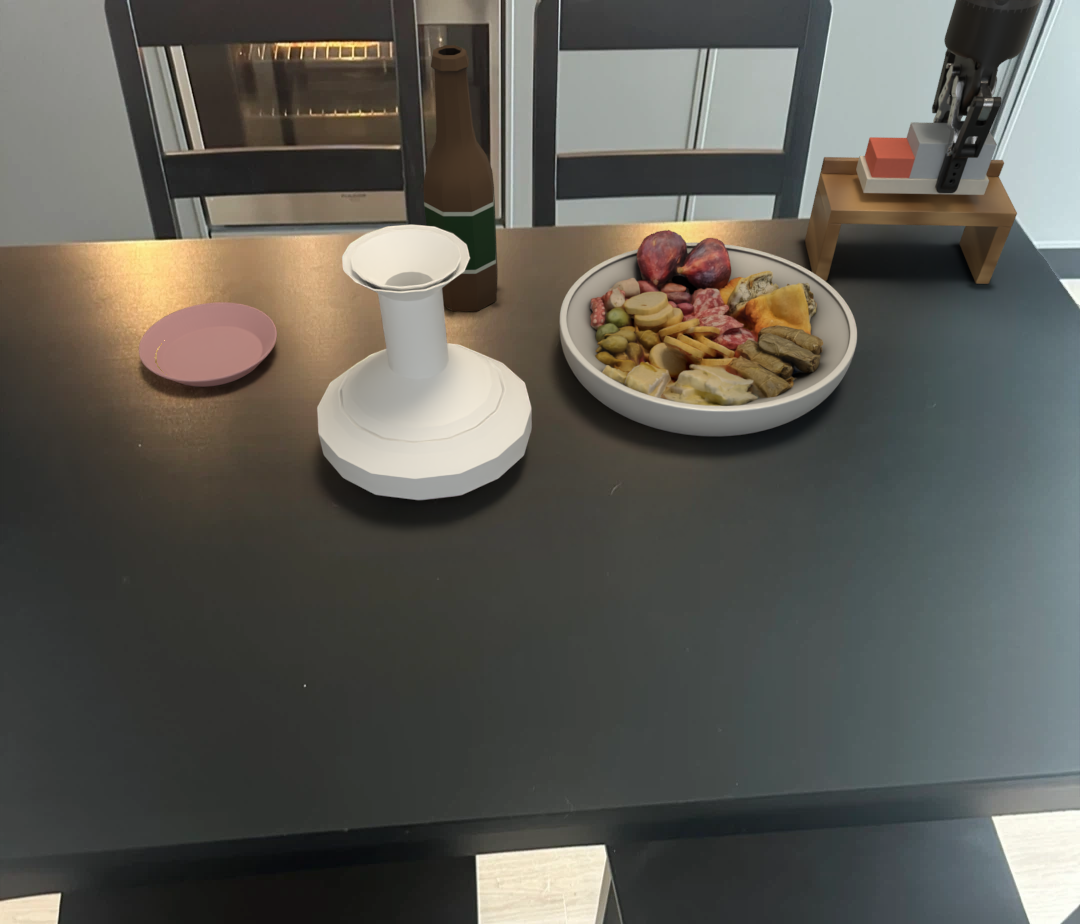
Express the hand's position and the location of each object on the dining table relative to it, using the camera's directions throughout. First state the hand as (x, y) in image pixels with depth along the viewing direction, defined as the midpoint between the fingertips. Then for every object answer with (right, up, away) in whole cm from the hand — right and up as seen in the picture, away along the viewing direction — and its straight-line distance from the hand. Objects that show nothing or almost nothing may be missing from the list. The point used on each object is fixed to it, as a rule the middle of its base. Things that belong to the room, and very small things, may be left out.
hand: (939, 177), depth 102 cm
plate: (-79, -21, -2) cm, 82 cm away
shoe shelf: (-2, -5, +8) cm, 10 cm away
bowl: (-27, -22, -3) cm, 35 cm away
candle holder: (-55, -34, -12) cm, 65 cm away
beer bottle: (-52, -11, +4) cm, 54 cm away
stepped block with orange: (-2, 0, 0) cm, 2 cm away
